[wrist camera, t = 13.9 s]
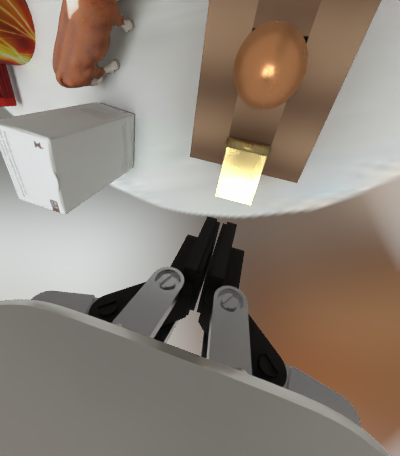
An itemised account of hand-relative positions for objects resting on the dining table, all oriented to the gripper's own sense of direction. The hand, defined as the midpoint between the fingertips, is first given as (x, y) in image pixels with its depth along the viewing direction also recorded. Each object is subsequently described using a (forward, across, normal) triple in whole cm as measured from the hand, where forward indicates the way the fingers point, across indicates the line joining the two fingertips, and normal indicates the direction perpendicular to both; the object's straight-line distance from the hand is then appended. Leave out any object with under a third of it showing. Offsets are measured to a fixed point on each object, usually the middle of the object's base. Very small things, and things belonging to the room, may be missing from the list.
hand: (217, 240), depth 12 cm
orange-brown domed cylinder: (+19, 0, -8) cm, 21 cm away
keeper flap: (+13, 0, +1) cm, 13 cm away
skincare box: (+20, +19, +2) cm, 27 cm away
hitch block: (+20, 0, -6) cm, 21 cm away
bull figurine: (+20, +18, -10) cm, 28 cm away
